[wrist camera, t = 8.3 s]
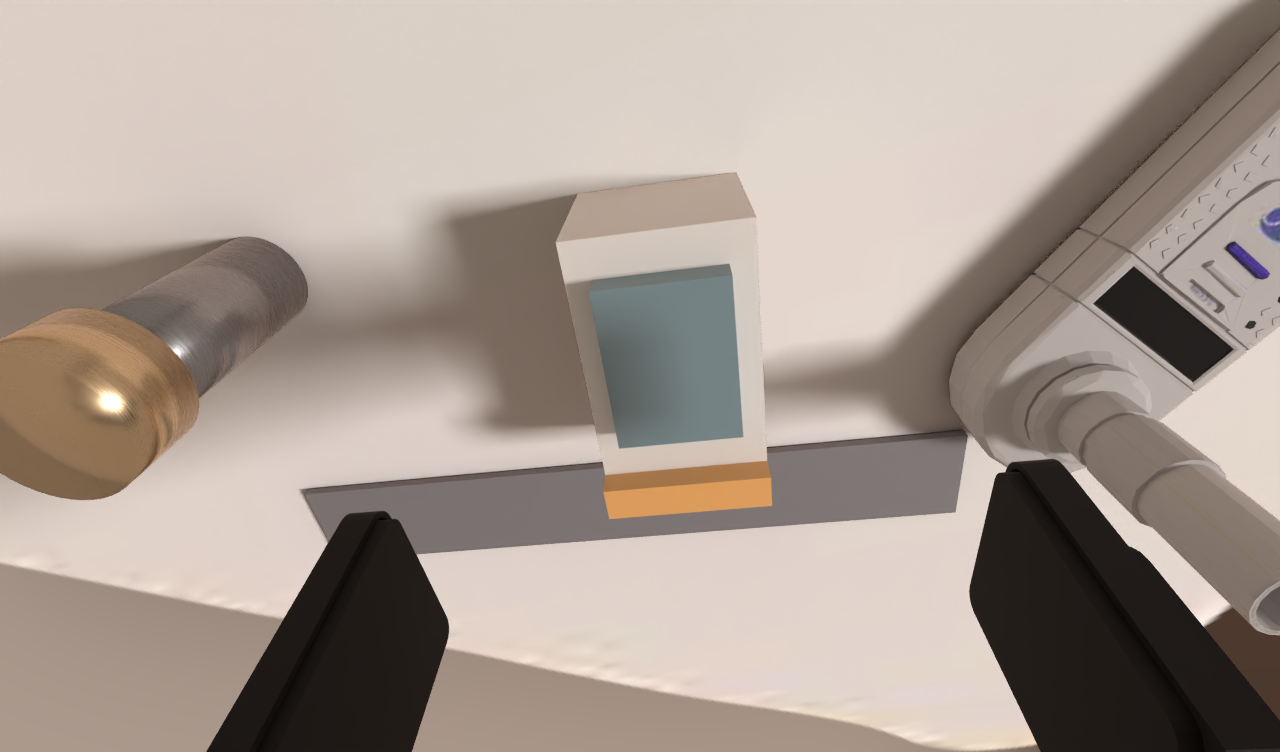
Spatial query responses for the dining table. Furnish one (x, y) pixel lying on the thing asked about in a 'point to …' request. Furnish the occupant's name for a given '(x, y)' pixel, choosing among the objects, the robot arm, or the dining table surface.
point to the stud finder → (671, 343)
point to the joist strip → (576, 511)
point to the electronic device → (1152, 337)
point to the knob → (135, 368)
